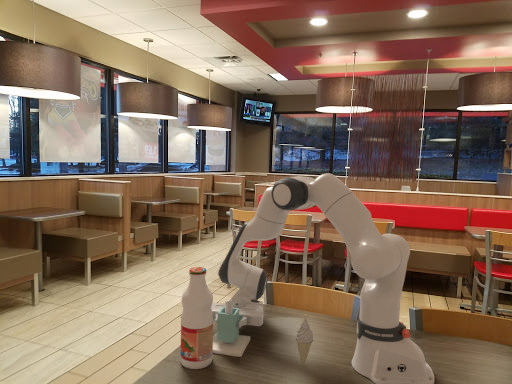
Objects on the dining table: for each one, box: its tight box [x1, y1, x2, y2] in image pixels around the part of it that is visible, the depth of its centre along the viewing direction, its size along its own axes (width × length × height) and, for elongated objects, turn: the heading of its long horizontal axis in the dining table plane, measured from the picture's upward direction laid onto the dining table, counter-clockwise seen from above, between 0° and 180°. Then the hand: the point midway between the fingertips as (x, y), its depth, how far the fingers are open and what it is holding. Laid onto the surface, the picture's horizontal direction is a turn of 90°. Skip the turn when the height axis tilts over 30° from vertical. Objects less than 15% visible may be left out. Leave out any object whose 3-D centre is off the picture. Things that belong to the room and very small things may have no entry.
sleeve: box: [216, 307, 240, 343], centre depth 121 cm, size 6×6×9 cm
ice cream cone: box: [295, 316, 314, 367], centre depth 110 cm, size 5×5×15 cm
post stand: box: [213, 298, 251, 358], centre depth 121 cm, size 12×12×15 cm
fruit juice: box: [180, 266, 214, 370], centre depth 111 cm, size 9×9×28 cm
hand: (227, 324), depth 121 cm, fingers closed on sleeve, 6 cm apart
